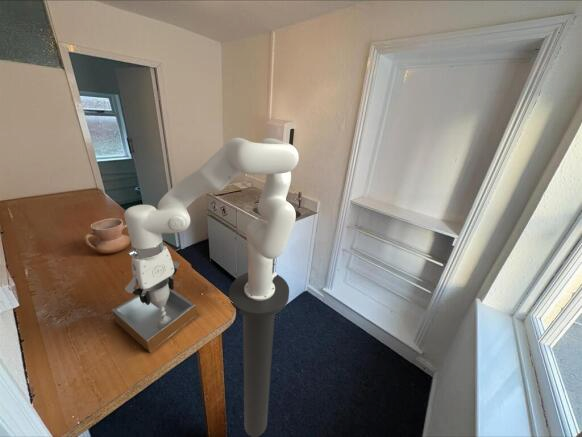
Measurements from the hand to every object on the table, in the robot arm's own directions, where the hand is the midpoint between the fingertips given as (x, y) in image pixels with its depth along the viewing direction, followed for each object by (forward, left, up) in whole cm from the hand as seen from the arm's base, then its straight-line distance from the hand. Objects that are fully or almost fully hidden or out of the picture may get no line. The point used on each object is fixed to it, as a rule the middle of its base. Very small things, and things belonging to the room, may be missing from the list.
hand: (158, 294), depth 73 cm
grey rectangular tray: (0, -4, -14) cm, 14 cm away
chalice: (0, 0, -13) cm, 13 cm away
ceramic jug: (-12, -60, -14) cm, 63 cm away
